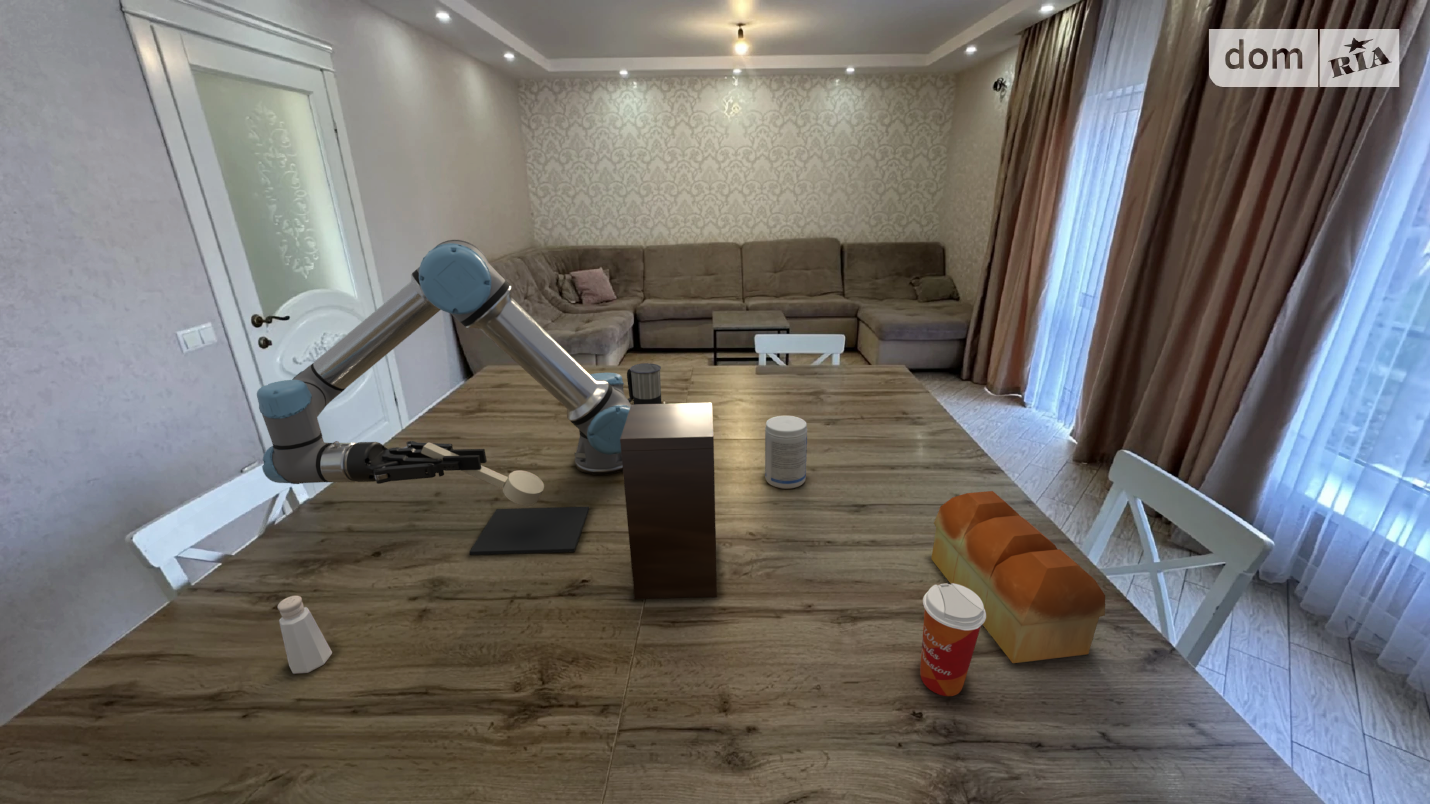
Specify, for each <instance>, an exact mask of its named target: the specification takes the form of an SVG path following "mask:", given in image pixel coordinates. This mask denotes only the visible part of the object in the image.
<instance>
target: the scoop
mask: <svg viewBox="0 0 1430 804" xmlns="http://www.w3.org/2000/svg"><path fill="white" fill-rule="evenodd" d="M426 443H427V444H426V445H425V446H423V449H422V451H421V453H422V454H424V455H426V456H429V457H431V458H439V459H441V461H443V457H444V456H459V455H457V454H455V453H452V452H450V451H448V450H446V449H443V448H441V447H439V446H437V445H434V444H432V443H433V442H429V441H428V442H426ZM460 472H462V473H465V474H468V475H470V476H472V477H475V478H477V479H478V480H482V481H484V482H486V483H488V484H491V485H493V486H495V487H497V488H500V489H502V493H503V495H504V496H505V498H507V500H509V501H511V502H512V503H514V504H517V505H519V506H527V507H528V506H533V505H535V504H536V503H538V501H539V499H540V498H541V495H542V493H543V491H544V490H545V484H544V482H543V481H542V479H541V478H540V477H539V476H537V475H536V474H534V473H532V472H530V471H526V470H521V469H520V470H519V469H518V470H514V471H511V472H510V473H509V474H508V476H506V475H505V474H502V473H499V472H497V471H495V470H493V469H490V468H489V467H486V466H484V465H482V464H481V469H480V470H460Z"/></svg>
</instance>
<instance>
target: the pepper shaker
mask: <svg viewBox="0 0 1430 804" xmlns="http://www.w3.org/2000/svg"><path fill="white" fill-rule="evenodd" d="M277 610H278V611H279V613H280V616H281V617H280V619H279V620H278V623H279V627H280V632H281V636H282V640H283V641H282V642H283V646H284V650H285V654H286V659H287V664H288V666H289V668H290V670H291V672H292V674H293V675H295V674H309V673H310V672H313V671H314V670H316V669H318V668H320V667H322V666H324V665H325V664H326V662H327V661H328V660H329V659H330V658H331V656H332V654H333V651H332V650H331V649H332V648H331V647H330V645H329V643H328V642H327V640H326V638H325V636H324V634H323V632H322V631H321V629H320V627H319V625H318V624H317V622H316V620H315V618H314V616H313V613H312V612H311V610H310V609H309V608H308V606H305V605H304V602H303V597H301V596H300V595H291V596H287V597H286V598H284V599H282V600H281V601H280V602H279V603H278V604H277Z"/></svg>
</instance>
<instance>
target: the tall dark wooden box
mask: <svg viewBox="0 0 1430 804" xmlns="http://www.w3.org/2000/svg"><path fill="white" fill-rule="evenodd" d="M714 438H715V437H714V415H713V402H679V403H662V404H634V403H633V404H631V407H630V410H629V413H628V416H627V419H626V423H625V426H624V429H623V432H622V435H621V438H620V444H621V455H622V466H623V471H622V475H623V477H622V478H623V488H624V495H625V496H624V499H625V509H626V511H625V512H626V520H627V530H628V531H627V533H628V543H629V554H630V555H629V556H630V565H631V577H632V586H633V599H634V600H652V599H685V598H687V599H688V598H689V599H690V598H691V599H692V598H716V597H718V583H717V581H718V580H717V579H718V577H717V576H718V575H717V534H716V533H717V531H716V529H717V528H716V491H715V490H716V487H715V484H716V483H715V482H716V481H715V442H714V441H715V440H714Z"/></svg>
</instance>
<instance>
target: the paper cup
mask: <svg viewBox="0 0 1430 804" xmlns="http://www.w3.org/2000/svg"><path fill="white" fill-rule="evenodd" d="M922 605H923V608H924V614H923V625H922V626H923V627H922V637H921V638H922V640H921V654H920V674H919V675H920V679H921V681H922V683H923V684H924V686H925V687H926V688H927V689H928V690H930V691H931V692H933V693H934V694H936V695H940V696H943V697H954V696H957V695H959V694H960V693H961V692H962V690H963V687H964V685H965V682H966V679H967V675H968V671H969V668H970V665H971V661H972V659H973V656H974V651H975V647H976V646H977V645H976V644H977V640H978V638H979V634H980V630H981V627H982V626H983V625H982V624H983V623H984V622H985V619H986V612H985V609H984V606H983V603H982V601H981V599H980V598H979V596H978V595H977V594H975V593H974V592H973V591H971V590H970V589H968V588H966V587H964V586H961V585H958V584H954V583H951V584H950V583H940V584H933V585H932V586H931V587H930V588H929V589H928V591H927V592H925V594H924V596H923V597H922Z"/></svg>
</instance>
